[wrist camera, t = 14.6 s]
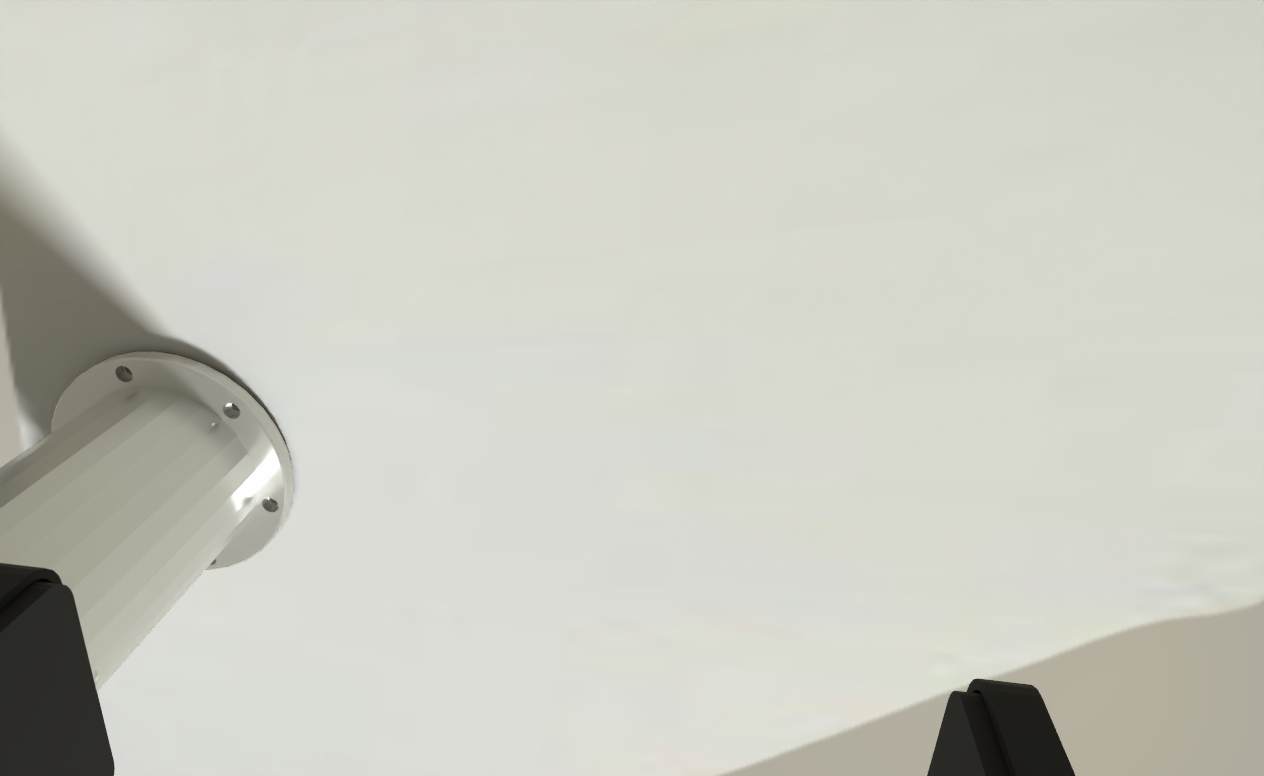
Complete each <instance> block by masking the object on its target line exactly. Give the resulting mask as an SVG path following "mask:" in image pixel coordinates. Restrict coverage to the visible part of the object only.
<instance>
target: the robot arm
mask: <svg viewBox="0 0 1264 776" xmlns="http://www.w3.org/2000/svg"><path fill="white" fill-rule="evenodd" d="M293 492H294V478H293V467H292V463H291V460H290V457H289V453H288V450H287V447H286V445H285V443H284V441H283V439H282V437H281V435H280V433H279V431H278V429H277V427H276V425H275V424H274V422H273V421H272V420H271V418H270V417H269V416H268V414H267V413H266V411H265V410H264V409H263V407H262V406H261V405H260V404H259V403H258V402H257V401H256V400H255V399H254V398H253V397H252V396H251V395H250V394H249V393H248V392H247V391H246V390H244V389H243V388H242V387H240V386H239V385H238V384H236V383H235V382H234V381H232V380H231V379H230V378H228V377H227V376H225V375H224V374H222V373H220V372H218V371H216V370H214V369H212V368H210V367H209V366H207V365H205V364H203V363H200V362H197V361H194V360H191V359H188V358H186V357H183V356H180V355H174V354H168V353H162V352H156V351H155V352H131V353H126V354H121V355H117V356H113V357H111V358H108V359H106V360H104V361H102V362H100V363H98V364H96V365H94V366H93V367H91V368H90V369H88V370H87V371H85V372H84V373H82V374H81V375H79V376H77V377H76V378H75V379H74V381H73V382H72V383H71V384H70V385H69V386H68V387H67V388H66V389H65V390H64V392H63V394H62V396H61V398H60V399H59V401H58V403H57V405H56V407H55V412H54V416H53V420H52V424H51V434H50V435H48V436H47V437H45V438H44V439H42V440H41V441H39V442H38V443H36V444H35V445H33V446H32V447H30V448H29V449H27V450H26V451H24V452H23V453H22V454H20V455H19V456H17V457H16V458H14V459H13V460H11V461H10V462H8V463H7V464H5V465H4V466H2V467H1V468H0V776H114V761H113V756H112V752H111V748H110V744H109V740H108V736H107V732H106V728H105V723H104V719H103V715H102V711H101V707H100V703H99V699H98V695H97V692H98V690H99V689H100V688H101V687H102V686H103V685H104V684H105V683H106V681H107V680H108V679H109V678H110V677H111V676H112V675H113V673H114V672H115V671H116V670H117V669H118V668H119V667H120V666H121V664H122V663H123V662H124V661H125V660H126V659H127V658H128V657H129V655H130V654H131V653H132V652H133V651H134V650H135V649H136V647H137V646H138V645H139V644H140V643H141V642H142V641H143V640H144V638H145V637H146V636H147V635H148V634H149V633H150V632H151V631H152V629H153V628H154V627H155V626H156V625H157V624H158V623H159V622H160V620H161V619H162V618H163V617H164V616H165V615H166V614H167V612H168V611H169V610H170V609H171V608H172V607H173V606H174V605H175V603H176V602H177V601H178V600H179V599H180V598H181V597H182V596H183V594H184V593H185V592H186V591H187V590H188V589H189V588H190V586H191V585H192V584H193V583H194V582H195V581H196V580H197V579H198V577H199V576H200V575H201V574H202V573H203V572H204V571H205V570H213V569H220V568H226V567H230V566H233V565H236V564H238V563H241V562H244V561H246V560H248V559H249V558H251V557H253V556H254V555H256V554H257V553H259V552H260V551H262V550H263V549H264V547H265V546H266V545H267V544H268V543H269V542H270V541H271V540H272V539H273V538H274V537H275V535H276V534H277V532H278V531H279V530H280V528H281V527H282V526H283V524H284V523H285V521H286V518H287V516H288V513H289V511H290V508H291V506H292V500H293ZM927 776H1075V774H1074V771H1073V769H1072V767H1071V764H1070V762H1069V760H1068V757H1067V755H1066V753H1065V750H1064V748H1063V746H1062V744H1061V741H1060V739H1059V736H1058V734H1057V732H1056V729H1055V727H1054V725H1053V723H1052V720H1051V718H1050V715H1049V713H1048V711H1047V708H1046V706H1045V704H1044V701H1043V699H1042V697H1041V695H1040V693H1039V691H1038V690H1037V689H1036V688H1035V687H1034V686H1032V685H1026V684H1018V683H1010V682H1001V681H993V680H985V679H974V680H973V681H972V682H971V683H970V685H969V687H968V690H967V692H960V691H953V692H952V693H951V695H950V697H949V700H948V703H947V706H946V710H945V714H944V717H943V721H942V724H941V728H940V732H939V736H938V739H937V742H936V746H935V750H934V753H933V757H932V761H931V764H930V768H929V771H928V775H927Z"/></svg>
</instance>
